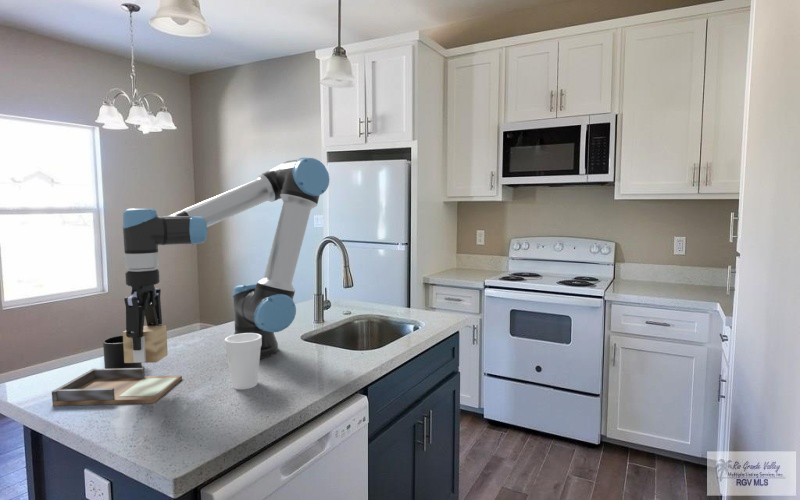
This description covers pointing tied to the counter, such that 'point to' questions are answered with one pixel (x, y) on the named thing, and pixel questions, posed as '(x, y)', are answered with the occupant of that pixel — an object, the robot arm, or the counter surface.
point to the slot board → (113, 387)
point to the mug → (116, 354)
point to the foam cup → (243, 359)
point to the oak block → (148, 344)
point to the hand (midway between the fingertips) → (146, 357)
